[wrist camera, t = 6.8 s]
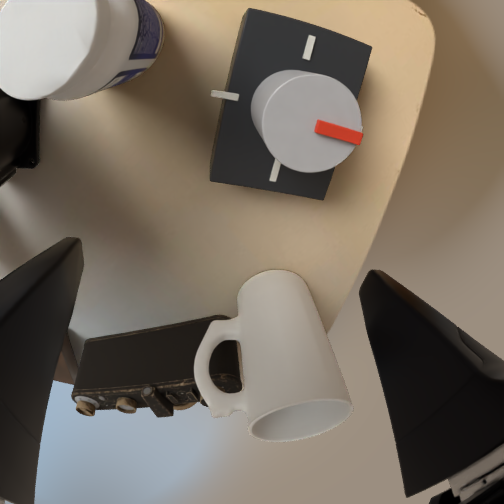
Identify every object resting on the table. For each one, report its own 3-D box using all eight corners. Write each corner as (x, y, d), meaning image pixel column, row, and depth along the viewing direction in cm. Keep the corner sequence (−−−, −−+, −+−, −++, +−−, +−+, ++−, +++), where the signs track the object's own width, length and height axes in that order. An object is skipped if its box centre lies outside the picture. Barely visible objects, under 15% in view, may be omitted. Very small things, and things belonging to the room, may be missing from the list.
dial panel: (229, 12, 14) (232, 3, 11) (362, 50, 16) (386, 52, 13) (197, 162, 19) (195, 181, 17) (320, 184, 21) (335, 204, 19)
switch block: (12, 352, 29) (3, 377, 26) (-9, 309, 24) (-22, 335, 21) (79, 368, 31) (72, 396, 28) (65, 325, 27) (54, 356, 23)
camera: (108, 372, 32) (98, 432, 25) (77, 336, 28) (59, 402, 21) (245, 350, 31) (255, 419, 25) (228, 307, 27) (236, 386, 21)
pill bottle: (110, -14, 12) (28, -55, 4) (184, 22, 14) (154, -14, 6) (62, 63, 14) (-41, 86, 6) (132, 99, 16) (62, 142, 8)
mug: (316, 264, 25) (368, 390, 16) (304, 320, 29) (337, 433, 20) (192, 268, 24) (188, 409, 15) (197, 325, 28) (199, 447, 18)
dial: (242, 138, 16) (251, 164, 12) (261, 60, 13) (278, 61, 10) (318, 154, 17) (346, 184, 13) (340, 83, 14) (377, 93, 11)
